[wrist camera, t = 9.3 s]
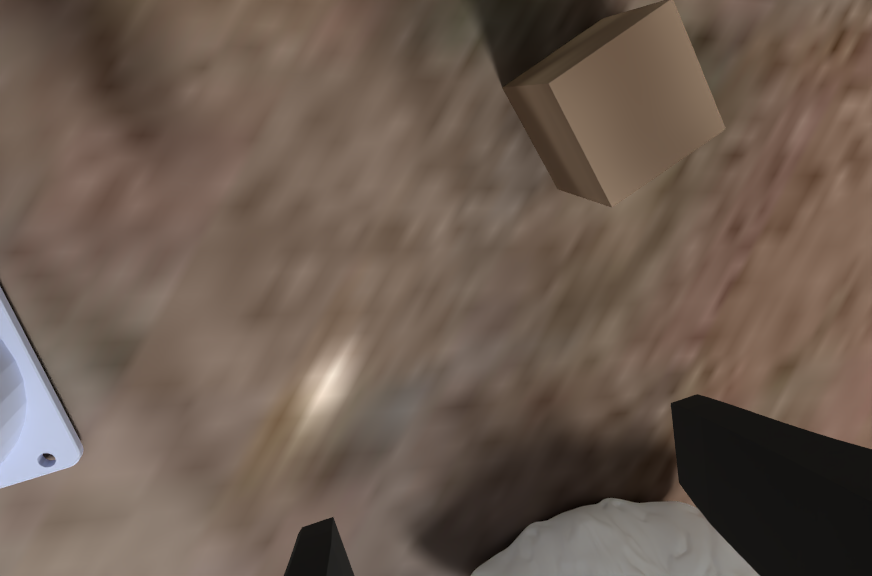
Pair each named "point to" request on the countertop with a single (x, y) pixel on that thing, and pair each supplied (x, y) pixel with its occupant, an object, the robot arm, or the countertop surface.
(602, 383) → the countertop surface
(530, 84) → the walnut cube
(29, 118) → the countertop surface
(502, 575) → the bust
